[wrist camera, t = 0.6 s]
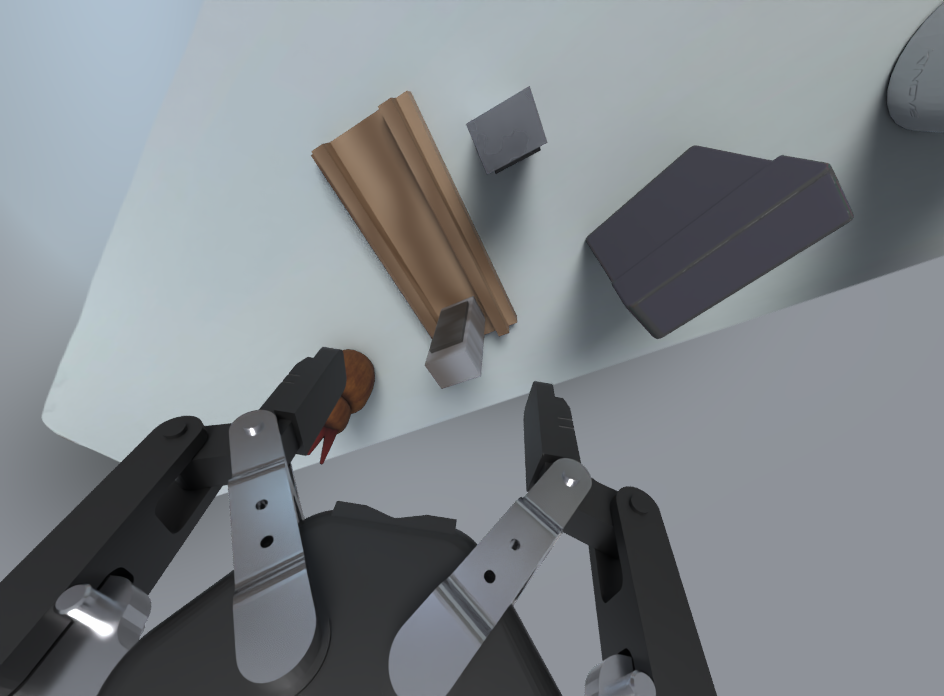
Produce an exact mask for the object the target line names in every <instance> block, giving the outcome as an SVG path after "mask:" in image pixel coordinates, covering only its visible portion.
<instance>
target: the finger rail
mask: <svg viewBox="0 0 944 696" xmlns="http://www.w3.org/2000/svg"><path fill="white" fill-rule="evenodd" d="M378 108H379V110H377V111H376V112H375V113H373V114H372V115H370V116H369V117H367V118H366V119H364V120H363V121H361V122H360V123H358V124H357V125H355V126H354V127H352V128H351V129H349V130H348V131H346V132H345V133H343V134H342V135H340V136H339V137H337V138H336V139H334V140H333V141H331V142H330V143H325V144H322V145H320V146H319V147H317V148H316V149H314V150H313V151H312V153H313V154H312V155H311V156H312V158H313V159H314V161H315V162H316V164H317V165H318V167H319V168H320V170H321V171H322V173H323V175H324V176H325V178H326V179H327V181H328V182H329V184H330V185H331V187H332V188H333V190H334V191H335V193H336V194H337V196H338V197H339V199H340V200H341V202H342V203H343V205H344V206H345V208H346V209H347V211H348V212H349V214H350V215H351V217H352V218H353V220H354V221H355V223H356V224H357V226H358V227H359V229H360V230H361V232H362V234H363V235H364V237H365V238H366V240H367V241H368V243H369V244H370V246H371V247H372V249H373V250H374V252H375V253H376V255H377V256H378V258H379V259H380V261H381V262H382V264H383V265H384V267H385V268H386V270H387V271H388V273H389V274H390V276H391V277H392V279H393V280H394V282H395V283H396V285H397V286H398V288H399V289H400V291H401V293H402V294H403V296H404V297H405V299H406V300H407V302H408V303H409V305H410V306H411V308H412V309H413V311H414V312H415V314H416V315H417V317H418V318H419V320H420V321H421V323H422V324H423V326H424V327H425V329H426V330H427V332H428V333H429V335H430V336H431V338H432V342H431V346H430V349H429V353H428V356H427V359H426V363H425V366H426V368H427V369H428V371H429V372H430V373H431V375H432V376H433V378H434V379H435V380H436V382H437V383H438V385H439V386H440V387H441V389H443V388H446V387H449V386H452V385H455V384H458V383H461V382H464V381H467V380H470V379H473V378H476V377H479V376H481V369H482V356H483V343H484V335H485V334H487V333H490V332H493V331H495V330H496V332H497V333H498V335H499V336H502V335H504V334H507V333H509V325H512V324H514V323H517V315H516V313H515V311H514V309H513V307H512V305H511V303H510V301H509V298H508V296H507V294H506V292H505V290H504V288H503V286H502V284H501V282H500V279H499V277H498V275H497V273H496V271H495V269H494V267H493V265H492V262H491V260H490V258H489V256H488V254H487V252H486V250H485V248H484V246H483V243H482V241H481V239H480V237H479V235H478V233H477V231H476V229H475V227H474V224H473V222H472V220H471V218H470V216H469V214H468V212H467V210H466V208H465V205H464V203H463V201H462V199H461V197H460V195H459V193H458V191H457V188H456V186H455V184H454V182H453V180H452V178H451V176H450V174H449V172H448V169H447V167H446V165H445V163H444V161H443V159H442V157H441V155H440V153H439V150H438V148H437V146H436V144H435V142H434V140H433V138H432V136H431V133H430V131H429V129H428V127H427V125H426V123H425V121H424V119H423V117H422V114H421V112H420V110H419V108H418V106H417V104H416V102H415V100H414V98H413V95H412V93H411V92H410V91H406V92H404V93H403V94H401V95H400V96H398V97H397V98H390V99H388V100H387V101H385V102H384V103H382V104H381V105H379V106H378Z"/></svg>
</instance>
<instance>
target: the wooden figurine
mask: <svg viewBox="0 0 944 696" xmlns="http://www.w3.org/2000/svg"><path fill="white" fill-rule="evenodd" d="M343 353H344V361H345V369H346V377H347V380H346V386H345V389H344V392H343V393H342V395H341V397H340V399H339V400H338V402H337V404H336V406H335V407H334V409H333V411H332V412H331V414H330V416H329V418H328V419H327V421H326V423H325V425H324V426H323V428H322V430H321V431H320V433H319V435H318V437H317V438H316V440H315V442H314V444H313V445H312V447H311V449H310V450H309V452H308V454H307V455H310V454H311V453H312V451H313V450H314V449H315V448H316V446H317V445H318V444H319V443H320V441H321V440H322V439H323V438H324V442H323V447H322V453H321V459H320V464H323V463H324V461H325V459H326V456H327V454H328V452H329V450H330V448H331V446H332V444H333V441H334V439H335V437H336V435H337V434H339V433H340V432H342V431H343V430H344V429H345V428H346V426H347V424H348V422H349V419H350V416H351V414H353V413H356V412H357V411H359V410H361V409H362V408H363V407H364V406H365V404H366V402H367V400H368V398H369V396H370V394H371V392H372V390H373V387H374V382H375V373H374V367H373V364H372V363H371V361H370V360H369V359H368V358H367V357H366V356H365V355H363V354H362V353H360V352H358V351H355V350H349V349H347V350H343Z"/></svg>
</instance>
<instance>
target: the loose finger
mask: <svg viewBox="0 0 944 696" xmlns="http://www.w3.org/2000/svg"><path fill="white" fill-rule="evenodd" d="M466 125H467V128H468V130H469V132H470V135H471V137H472V140H473V142H474V144H475V147H476V149H477V152H478V154H479V156H480V159H481V161H482V164H483V166H484V168H485V171H486V173H487V174H489V173H491V172H493V171H495V173H496V174H497V173H498V172H500V171H502V170H504V169H506V168H508V167H510V166H512V165H514V164H516V163H517V162H519V161H521V160H523V159H525V158H527V157H529V156H531V155H533V154H534V153H536V152H538V151H540V150H541V149H540V146H542V145H544V144H546V143H547V140H546V137H545V134H544V130H543V127H542V124H541V121H540V118H539V114H538V111H537V108H536V105H535V102H534V98H533V95H532V92H531V89H530V86H529V87H527V88H526V89H524V90H522V91H520V92H519V93H517V94H515V95H514V96H512V97H510V98H509V99H507V100H505V101H504V102H502V103H500V104H499V105H497V106H495V107H494V108H492V109H490V110H489V111H487V112H485V113H484V114H482V115H480V116H479V117H477V118H475V119H474V120H472V121H470V122H469V123H467V124H466Z"/></svg>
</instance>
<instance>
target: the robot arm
mask: <svg viewBox="0 0 944 696" xmlns="http://www.w3.org/2000/svg"><path fill="white" fill-rule="evenodd" d="M887 106H888V109H889V113H890V116H891V117H892V118H893V120H894V121H895V123H896V124H898V125H900V126H901V127H903V128H905V129H909V130H914V131H923V132H940V133H944V2H943V3H942V4H941V5H940V6H939V7H938V8H937V9H936V10H935V11H934V12H933V13H932V14H931V15H930V16H929V17H928V19H927V20H926V21H925V22H924V23H923V24H922V26H921V27H920V28H919V29H918V31H917V32H916V33H915V34H914V36H913V37H912V38H911V40H910V41H909V43H908V44H907V46H906V48H905V49H904V51H903V52H902V54H901V56H900V57H899V59H898V62H897V64H896V66H895V68H894V71H893V73H892V75H891V79H890V83H889V87H888V92H887ZM346 380H347V377H346V369H345V361H344V353H343V351H342V350H340V349H333V348H327V347H322V348H321V349H320V350H319V351H318V353H317V354H316V355H315V357H314V358H311V357H307V358H305V359H304V360H302V361H301V362H299V363H297V364H296V365H295V366H294V368H293V369H292V370H291V371H290V372H289V375H287V376H286V377H285V378H284V380H283V382H281V383H280V385H279V386H278V387H277V388H276V389H275V391H274V392H273V393H272V394H271V396H270V397H269V398H268V399H267V400H266V402H265V403H264V404H263V405H262V406H261V408H260V409H259V410H255V411H250V412H247V413H245V414H243V415H241V416H240V417H238V418H237V419H236V420H235V421H234V422H233V423H230V424H221V425H211V426H204V425H203V423H202V421H201V420H200V419H199V418H197V417H194V416H181V417H176V418H173V419H170V420H168V421H166V422H164V423H162V424H160V425H159V426H158V427H156V428H155V429H154V430H153V431H152V432H151V433H150V434H149V435H148V436H147V437H146V438H145V439H144V440H143V441H142V442H141V443H140V444H139V445H138V446H137V447H136V448H135V449H134V450H133V451H132V452H131V453H130V454H129V455H128V456H127V457H126V458H125V459H124V460H123V461H122V462H121V463H120V464H119V465H118V466H117V467H116V468H115V469H114V470H113V471H112V472H111V473H110V474H109V475H108V476H107V477H106V478H105V479H104V480H103V481H102V482H101V483H100V484H99V485H98V486H97V487H96V488H95V489H94V490H93V491H92V492H91V493H90V494H89V495H88V496H87V497H86V498H85V499H84V500H83V501H82V502H81V503H80V504H79V505H78V506H77V507H76V508H75V509H74V510H73V511H72V512H71V513H70V514H69V515H68V516H67V517H66V518H65V519H64V520H63V521H62V522H61V523H60V524H59V525H58V526H57V527H56V528H55V529H54V530H53V531H52V532H51V533H49V535H47V537H46V538H44V540H42V542H40V543H39V544H38V545H37V546H36V548H34V549H33V551H32V552H30V553H29V555H27V556H26V558H25V559H24V560H22V561H21V562H20V563H19V564H18V565H17V566H16V567H15V568H14V569H13V570H12V571H11V572H10V573H9V574H8V575H7V576H6V577H5V578H4V579H3V581H1V582H0V696H562V694H561V692H560V690H559V689H558V687H557V685H556V683H555V681H554V679H553V678H552V676H551V674H550V672H549V670H548V668H547V667H546V665H545V663H544V661H543V659H542V658H541V656H540V654H539V652H538V650H537V649H536V647H535V645H534V643H533V641H532V639H531V638H530V636H529V634H528V632H527V630H526V628H525V627H524V625H523V623H522V621H521V619H520V617H519V616H518V614H517V612H516V610H515V609H514V604H515V603H516V601H517V600H518V598H519V597H520V595H521V594H522V592H523V591H524V589H525V588H526V586H527V585H528V583H529V582H530V580H531V579H532V577H533V576H534V574H535V573H536V571H537V570H538V568H539V567H540V565H541V564H542V562H543V561H544V559H545V558H546V556H547V555H548V554H549V552H550V550H551V549H552V547H553V546H554V545H555V543H556V542H557V540H558V539H559V537H560V536H561V534H562V533H563V532H564V533H566V534H568V535H570V536H572V537H574V538H576V539H578V540H580V541H581V542H583V543H585V544H587V545H589V553H590V562H591V570H592V577H593V586H594V594H595V602H596V611H597V618H598V627H599V634H600V643H601V651H602V660H603V661H602V662H601V663H599V664H598V665H596V666H595V667H593V668H592V669H591V671H590V672H589V673H588V675H587V678H586V682H585V696H717V694H716V691H715V688H714V684H713V681H712V678H711V675H710V672H709V668H708V665H707V662H706V659H705V656H704V652H703V649H702V646H701V643H700V639H699V636H698V633H697V629H696V627H695V623H694V620H693V617H692V613H691V610H690V607H689V604H688V600H687V597H686V594H685V591H684V588H683V584H682V581H681V578H680V575H679V571H678V568H677V565H676V562H675V558H674V555H673V552H672V549H671V546H670V542H669V539H668V536H667V533H666V530H665V526H664V523H663V520H662V517H661V513H660V511H659V508H658V506H657V504H656V503H655V501H654V500H653V499H652V498H651V497H650V496H649V495H648V494H647V493H645V492H644V491H642V490H640V489H638V488H635V487H623V488H621V489H620V490H619V491H616V490H614V489H611V488H609V487H607V486H605V485H603V484H601V483H599V482H597V481H595V480H594V479H593V478H591V476H590V474H589V472H588V471H587V469H586V468H585V467H584V466H583V465H582V464H581V461H580V456H579V451H578V446H577V441H576V436H575V431H574V426H573V421H572V416H571V411H570V408H569V406H568V405H567V403H566V402H565V400H564V399H563V398H558V397H555V396H554V389H553V385H552V384H549V383H543V382H537V381H534V382H533V385H532V388H531V391H530V394H529V397H528V400H527V403H526V406H525V411H524V443H525V466H526V489H527V492H528V493H527V494H526V495H525V497H523V498H522V497H520V498H519V499H518V500H517V501H516V502H515V503H514V504H513V505H512V506H511V507H510V508H509V510H508V511H507V512H506V513H505V514H504V515H503V516H502V517H501V519H500V520H499V521H498V522H497V523H496V524H495V525H494V527H493V528H492V529H491V530H490V531H489V533H488V534H487V535H486V536H485V537H484V538H483V539H482V540H481V541H480V543H479V544H478V545H477V544H476V542H474V540H472V539H471V538H470V537H469V536H468V535H466V534H465V533H463V532H462V531H460V530H457V529H455V528H456V519H449V518H443V517H437V516H430V515H423V516H413V517H404V518H393V517H390V516H388V515H386V514H384V513H382V512H380V511H378V510H375V509H373V508H371V507H369V506H367V505H361V504H354V503H348V502H342V501H337V502H336V505H335V507H334V509H333V510H330V511H325V512H321V513H318V514H315V515H313V516H311V517H308V518H306V519H305V518H304V515H303V511H302V508H301V504H300V500H299V495H298V491H297V486H296V482H295V477H294V473H293V469H292V465H291V461H292V459H293V458H294V456H295V454H299V455H305V456H307V454H308V452H309V450H310V449H311V447H312V445H313V444H314V442H315V440H316V438H317V437H318V435H319V433H320V431H321V430H322V428H323V426H324V425H325V423H326V421H327V419H328V418H329V416H330V414H331V412H332V411H333V409H334V407H335V406H336V404H337V402H338V400H339V399H340V397H341V395H342V393H343V392H344V389H345V386H346ZM223 485H228V494H229V508H230V522H231V536H232V550H233V564H234V570H233V571H231V572H230V573H229V574H227V575H226V576H225V577H223V578H222V579H220V580H219V581H218V582H216V583H215V584H214V585H212V586H211V587H209V588H208V589H207V590H206V591H204V592H203V593H201V594H200V595H199V596H197V597H196V598H195V599H193V600H192V601H190V602H189V603H188V604H186V605H185V606H183V607H182V608H181V609H179V610H178V611H177V612H175V613H174V614H172V615H171V616H170V617H168V618H167V619H166V620H164V621H163V622H161V623H160V624H159V625H157V626H156V627H155V628H153V629H152V630H151V631H149V632H148V633H147V634H146V635H144V636H143V637H142V638H141V639H140V640H139V638H140V636H141V634H142V633H143V631H144V628H145V623H146V621H147V619H148V617H149V614H150V611H151V600H150V598H149V596H148V595H149V593H150V592H151V590H152V589H153V587H154V586H155V584H156V583H157V581H158V580H159V579H160V577H161V576H162V574H163V573H164V571H165V569H166V568H167V567H168V565H169V564H170V562H171V561H172V559H173V558H174V556H175V555H176V553H177V552H178V551H179V549H180V548H181V546H182V545H183V543H184V542H185V540H186V539H187V537H188V536H189V534H190V533H191V531H192V530H193V529H194V527H195V526H196V524H197V523H198V521H199V519H200V518H201V517H202V515H203V514H204V512H205V511H206V509H207V508H208V506H209V505H210V504H211V502H212V501H213V499H214V498H215V496H216V495H217V493H218V492H219V490H220V489H221V487H222V486H223Z"/></svg>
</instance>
